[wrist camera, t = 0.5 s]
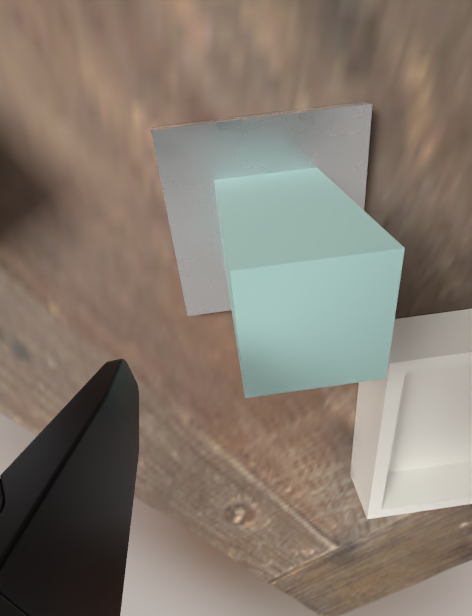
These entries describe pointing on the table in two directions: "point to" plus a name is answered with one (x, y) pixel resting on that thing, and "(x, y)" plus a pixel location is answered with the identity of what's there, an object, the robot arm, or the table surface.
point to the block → (306, 282)
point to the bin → (417, 420)
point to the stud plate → (247, 162)
